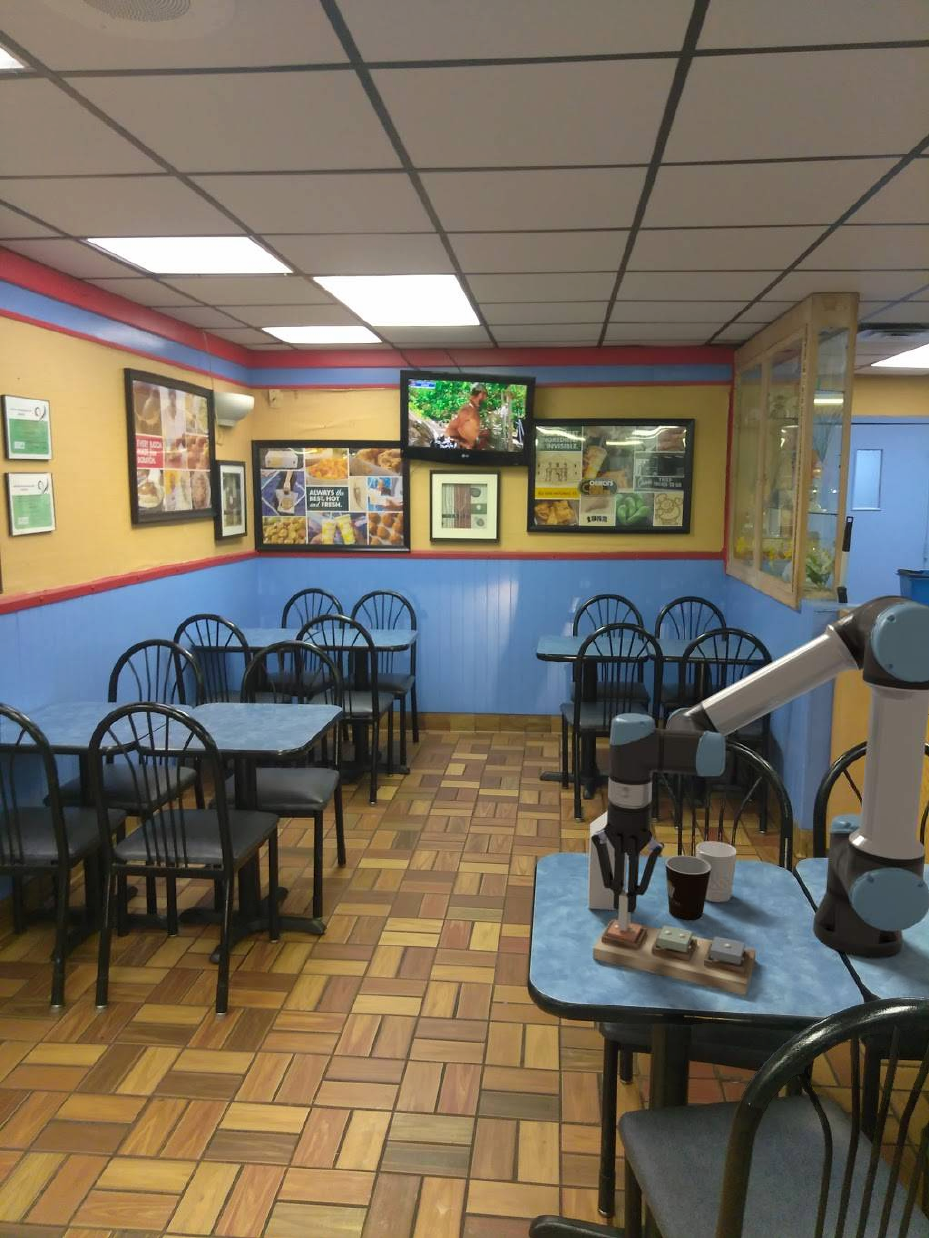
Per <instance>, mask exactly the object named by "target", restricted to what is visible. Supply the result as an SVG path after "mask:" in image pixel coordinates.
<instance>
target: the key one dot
mask: <svg viewBox="0 0 929 1238" xmlns="http://www.w3.org/2000/svg"><path fill="white" fill-rule="evenodd" d="M712 941H713V944H712V947H711V949H710V958H713V959H717V960H721V961H726V962H730V963H734V964H739V965H740V964H741V961H742V957H743V954H744V951H745V948H746V946H745V945H746V943H745V942H743V941H738V940H734V939H728V938H724V937H719V936H715V937H714V939H713V940H712Z"/></svg>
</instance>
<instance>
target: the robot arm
mask: <svg viewBox="0 0 929 1238" xmlns="http://www.w3.org/2000/svg"><path fill="white" fill-rule="evenodd" d="M861 670H862V676H861V677H862V678H861V679H862V682H863V684H865V685H866V687H867V688H868V689H869V690H870V701H869V702H870V703H869V714H868V715H869V717H868V728H867V736H866V737H867V740H866V749H865V752H866V753H865V761H864V762H865V763H864V773H863V774H864V775H863V785H862V796H861V797H862V799H861V807H860V809H861V810H860V814H858V813H857V814H856V813H848V814H845V813H844V814H840V815H836V816H834V817H833V819H832V820H831V822H830V829H829V831H828V833H829V844H828V857H827V860H828V861H827V870H826V871H827V874H826V890H825V893H824V895H823V897H822V899H821V901H820V903H819V906H818V907H817V910H816V913H815V915H814V917H813V927H812V930H813V933H814V935H815V937H816V938H817V937H818V938H819V939H818V938H817V939H818V940H820V941H821V942H822V943H823V944H825V945H827V946H828V947H830V948H832V949H835V950H837V951H839V952H842V953H845V954H848V955H851V956H852V955H853V956H856V957H863V958H873V959H879V958H889V957H892V956H895V955H897V954H898V953H899V952H901V950H902V948H903V940H904V939H903V931H904V930H907V929H911V928H912V927H913V926H916V924H919V923H920V922H921V921H922V920H923V919H924V918H925V917H926V915H927V913H928V912H929V886H928V885H927V883H926V881H925V880H924V871H925V861H926V849H927V848H926V847H925V846H924V845H923V843H922V842H921V841H920V840H919V839H918V838H917V833H918V824H919V815H920V813H919V812H920V803H921V794H922V793H921V792H922V782H923V774H924V773H923V772H924V771H923V770H924V761H925V754H926V753H925V751H926V739H927V731H928V720H929V605H928V604H924V603H922V602H917V601H914V600H912V599H911V598H908V597H906V596H901V595H895V594H894V595H893V594H889V595H888V594H887V595H884V596H883V595H882V596H878V597H874V598H872V599H869V600H868V601H866V602H864V603H863V604H861V605H859V606H857V607H856V608H854V609H852V610H851V611H849V612H847V613H846V614H844V615H842V616H841V617H838V618H837V619H836V620H833V621H832V622H830V623H828V624H827V625H826V626H825V631H824V633H823V634H820V635H819V636H816V637H815V638H813V639H812V640H810V641H808V642H806V643H805V644H803V645H801V646H799V647H797V648H795V649H794V650H792V651H790V652H788V653H787V654H784V655H783V656H781V657H779V658H777V659H775V660H773V662H771V663H768V664H767V665H765V666H763V667H762V668H761V667H760V669H757V670H756V671H754V672H752V673H750V674H749V675H747V676H746V677H744V678H742V679H739V680H738V681H736V682H735V683H733V684H731V685H729V686H728V687H725V688H724V689H722V690H720V691H719V692H716V693H715V694H713V695H712V696H709V697H708V698H706V699H704V700H701V702H699V703H697V704H695V705H693V706H691V707H682V708H679V709H676V710H674V711H673V712H672V713H671V714H670V716H669V717H668V719H667V723H666V726H665V729H664V728H657V726H656V722H655V719H654V718H653V717H651V716H650V715H647V714H640V713H635V712H634V713H633V712H632V713H631V712H628V713H621V714H618V715H616V716H615V717H613V719H612V721H611V726H610V735H609V736H610V737H609V738H610V739H609V758H608V759H609V761H608V764H609V765H608V790H607V797H608V798H607V799H608V801H607V809H606V812H607V824H606V826H605V828H604V830H603V831H600V832H599V831H597V832H596V833H595V834H594V835H593V836H592V838H591V839H592V841H593V843H594V845H595V847H596V848H597V853H598V858H599V864H600V869H601V874H602V879H603V884H604V887H605V888H607V889H608V888H609V889H611V890H612V891H613V892H614V905H613V906H614V909H616V910H615V911H618V917H617V920H618V930H622V931H627V929H628V927H629V925H630V923H631V914H634V913H635V911H636V909H637V902H638V901H637V896H640V897H641V896H644V895H645V894H646V892H647V890H648V888H649V885H650V881H651V878H652V876H653V872H654V869H655V866H656V863H657V860H658V857H659V856H660V855H661V854H662V852H663V851H664V848H665V843H664V842H658V841H657V840H656V839H655V838H653V833H652V830H651V812H652V810H651V809H652V806H651V804H650V803H652V792H653V789H652V788H653V787H652V785H653V772H655V773H667V774H675V775H676V774H678V775H688V776H689V775H691V776H698V777H700V778H701V777H702V778H703V777H719V776H721V775H722V774H723V773H724V771H725V766H726V738H725V737H726V736H728V735H729V734H731V733H733V732H735V731H736V730H739V729H741V728H742V727H745V726H746V725H748V724H750V723H752V722H754V721H757V719H759V718H761V717H763V716H765V715H767V714H769V713H771V712H773V711H774V710H776V709H778V708H780V707H782V706H783V705H786V704H787V703H789V702H791V701H792V700H794V699H797V698H798V697H800V696H802V695H804V694H807V693H808V692H809V691H811V690H813V689H816V688H818V687H819V686H821V685H823V684H825V683H826V682H828V681H830V680H832V679H834V678H835V677H838V676H839V675H841V674H843V673H845V672H847V671H853V672H859V671H861ZM606 837H607V838H608V840H609V841H610V843H611V845H612V846H613V848H614V857H615V865H614V878H613V873H612V868H611V863H610V858H609V853H608V848H607V843H606V841H607V838H606ZM646 846H649V847H648V852H649V855H648V858H647V861H646V864H645V866H644V867H645V868H644V870H643V873H642V876H641V880H640V883H639V867H640V866H639V865H640V855H641V852H642V851H643V850H644V849H645V848H646ZM625 853H627V859H628V871H627V872H628V874H627V875H628V876H627V877H628V878H627V880H628V881H627V889H626V890H625V889H623V887H624V885H625V884H624V865H625Z"/></svg>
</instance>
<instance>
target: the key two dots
mask: <svg viewBox="0 0 929 1238" xmlns="http://www.w3.org/2000/svg"><path fill="white" fill-rule="evenodd" d="M692 936H693V931H692V930H688V929H683V928H677V927H673V926H668V925H663V926H662V930H661V932H660V934H659V936H658V941H657V946H660V947H664V948H669V949H673V950H677V951H682V952H687V949H688V947H689V945H690V943H691V940H692Z"/></svg>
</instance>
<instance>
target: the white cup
mask: <svg viewBox="0 0 929 1238" xmlns="http://www.w3.org/2000/svg"><path fill="white" fill-rule="evenodd" d="M695 852H696V853H695V857H696V858H700V859H702V860H705V861H706V862H708V863H709V864H710V866H711V871H710V876H709V882H708V887H707V893H706V899H705V901H707V900H708V902H713V903H725V902H727V901H730V900H731V897H732V892H733V891H732V890H733V885H734V880H735V878H734V877H735V869H736V861H737V849H736V848H735V847H734V846H732V845H731V844H728V843H725V842H722V841H714V840H713V841H712V840H710V841H702V842H699V843H698V844H696V847H695Z"/></svg>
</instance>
